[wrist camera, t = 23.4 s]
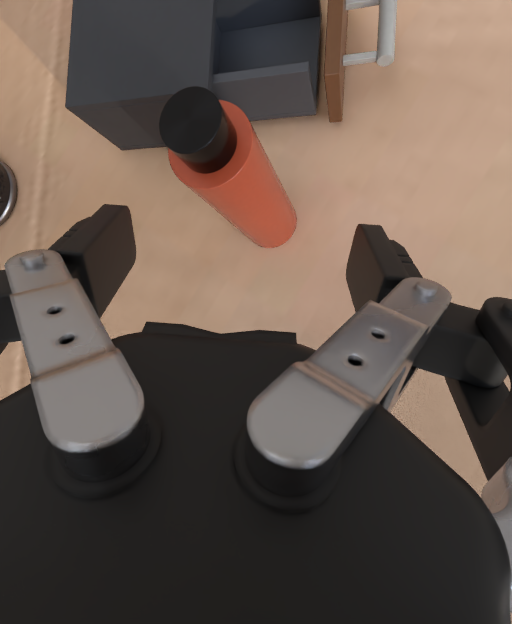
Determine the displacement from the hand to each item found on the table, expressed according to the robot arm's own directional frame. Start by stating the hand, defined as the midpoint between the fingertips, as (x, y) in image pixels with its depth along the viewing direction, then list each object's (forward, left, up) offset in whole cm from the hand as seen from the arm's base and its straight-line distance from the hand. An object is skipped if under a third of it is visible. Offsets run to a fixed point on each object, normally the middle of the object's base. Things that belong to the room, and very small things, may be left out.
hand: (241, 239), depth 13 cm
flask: (-5, +7, -24) cm, 25 cm away
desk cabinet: (-16, +23, -24) cm, 36 cm away
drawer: (-3, +23, -23) cm, 32 cm away
